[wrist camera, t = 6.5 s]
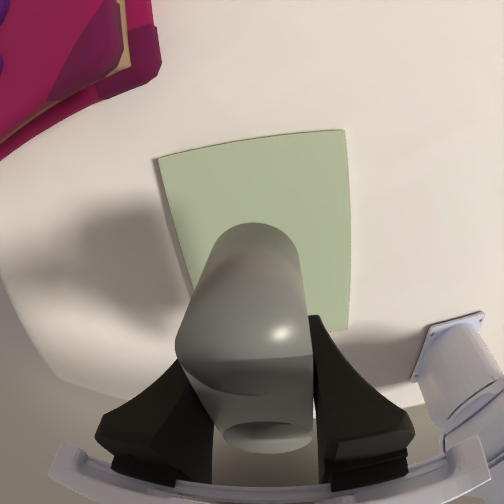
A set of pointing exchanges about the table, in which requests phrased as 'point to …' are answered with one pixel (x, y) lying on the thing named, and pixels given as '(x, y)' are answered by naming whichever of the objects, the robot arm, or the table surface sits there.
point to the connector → (251, 341)
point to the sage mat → (271, 206)
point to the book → (69, 59)
